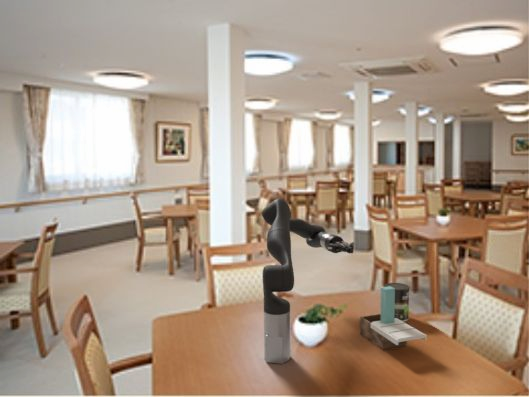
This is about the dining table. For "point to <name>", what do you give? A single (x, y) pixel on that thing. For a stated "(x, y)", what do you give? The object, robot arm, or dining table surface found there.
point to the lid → (393, 321)
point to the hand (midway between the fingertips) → (351, 250)
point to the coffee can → (401, 300)
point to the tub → (376, 333)
